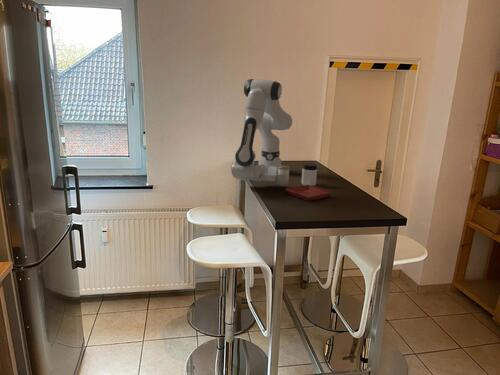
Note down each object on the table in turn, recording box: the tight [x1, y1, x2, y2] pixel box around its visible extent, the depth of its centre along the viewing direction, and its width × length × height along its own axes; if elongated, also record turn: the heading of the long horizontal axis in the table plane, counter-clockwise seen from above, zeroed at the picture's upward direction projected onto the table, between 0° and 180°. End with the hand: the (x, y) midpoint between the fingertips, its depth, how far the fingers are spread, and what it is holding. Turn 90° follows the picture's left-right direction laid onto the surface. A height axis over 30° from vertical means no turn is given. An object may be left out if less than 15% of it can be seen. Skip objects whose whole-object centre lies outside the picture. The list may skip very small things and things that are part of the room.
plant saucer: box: [285, 184, 332, 201], centre depth 209 cm, size 18×18×3 cm
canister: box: [277, 164, 291, 187], centre depth 217 cm, size 6×6×10 cm
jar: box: [300, 162, 318, 186], centre depth 231 cm, size 9×8×12 cm
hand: (285, 174), depth 217 cm, fingers closed on canister, 6 cm apart
